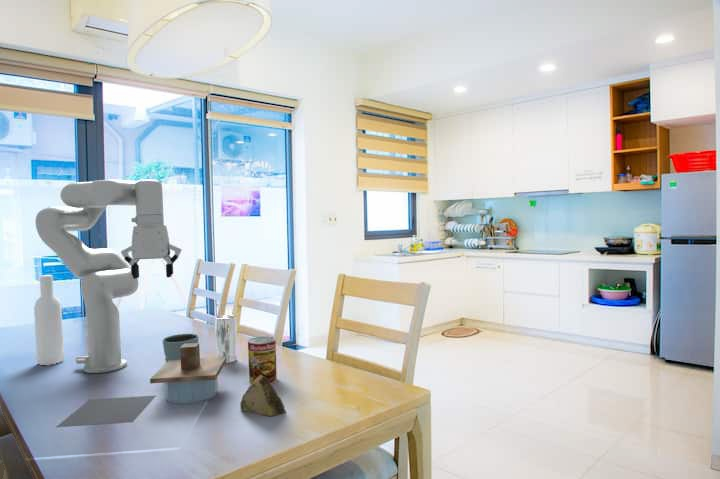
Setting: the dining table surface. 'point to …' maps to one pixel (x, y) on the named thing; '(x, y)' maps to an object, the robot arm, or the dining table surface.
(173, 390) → the bowl
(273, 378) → the canned food
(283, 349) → the dining table surface
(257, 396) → the rock
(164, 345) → the drinking glass
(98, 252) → the robot arm
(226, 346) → the beer glass
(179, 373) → the lid
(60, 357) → the bottle
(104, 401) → the board
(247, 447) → the dining table surface
